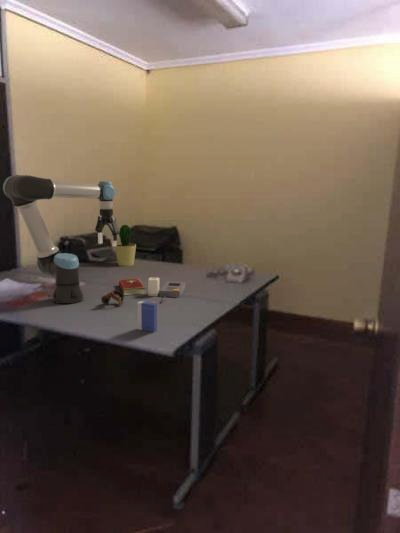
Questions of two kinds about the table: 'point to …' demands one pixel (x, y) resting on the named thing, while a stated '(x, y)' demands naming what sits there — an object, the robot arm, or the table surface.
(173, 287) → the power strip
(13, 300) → the table surface
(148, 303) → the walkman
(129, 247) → the potted cactus
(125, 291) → the hardcover book
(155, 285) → the charger brick
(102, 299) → the brown arched piece
